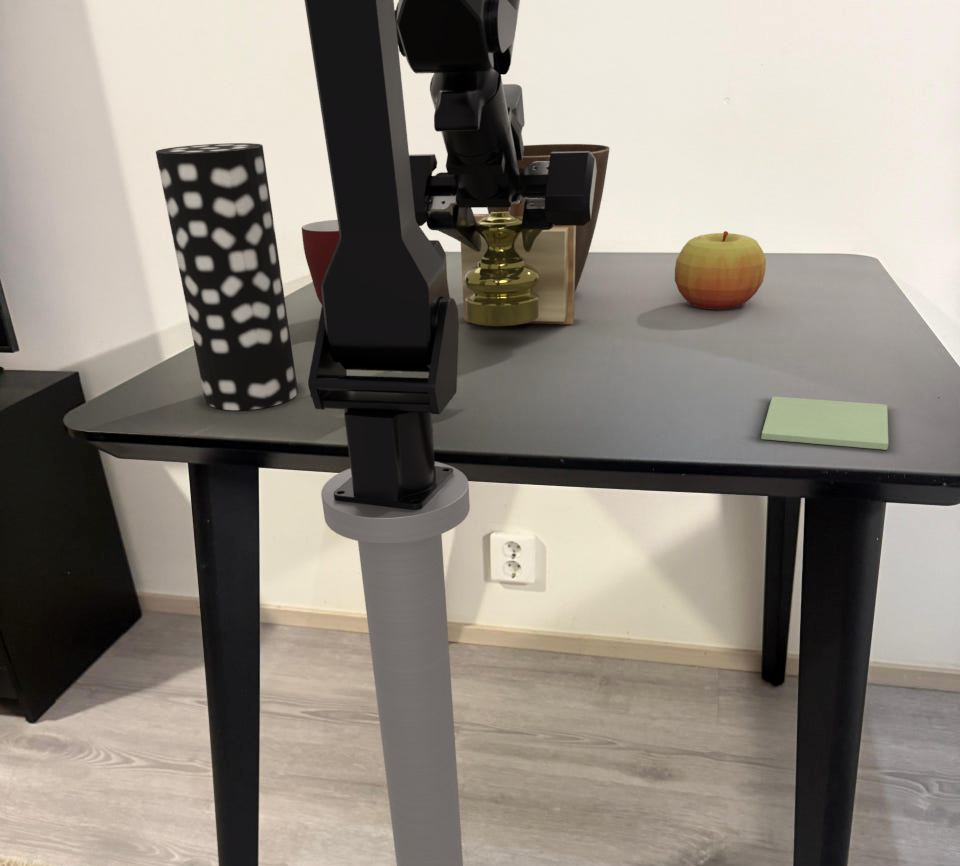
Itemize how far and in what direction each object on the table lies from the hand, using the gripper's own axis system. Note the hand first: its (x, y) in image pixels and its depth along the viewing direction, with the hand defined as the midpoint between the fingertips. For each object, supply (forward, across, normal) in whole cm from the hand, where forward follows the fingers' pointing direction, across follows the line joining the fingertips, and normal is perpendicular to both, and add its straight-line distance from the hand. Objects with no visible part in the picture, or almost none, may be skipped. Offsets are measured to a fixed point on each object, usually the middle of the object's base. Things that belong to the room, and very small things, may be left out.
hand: (504, 247), depth 91 cm
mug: (+12, +19, +1) cm, 23 cm away
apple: (+19, -21, -6) cm, 29 cm away
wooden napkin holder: (+11, 0, +2) cm, 11 cm away
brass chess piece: (+4, 0, +6) cm, 7 cm away
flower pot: (+21, -1, -8) cm, 23 cm away
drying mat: (-8, -30, +22) cm, 38 cm away
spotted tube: (-7, +20, +21) cm, 30 cm away
